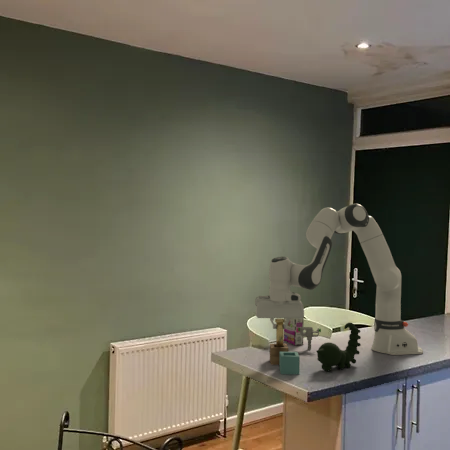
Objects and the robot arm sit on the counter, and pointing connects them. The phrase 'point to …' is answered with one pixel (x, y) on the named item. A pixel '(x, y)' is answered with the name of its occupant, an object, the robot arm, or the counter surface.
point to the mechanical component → (308, 334)
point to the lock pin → (279, 332)
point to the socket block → (289, 362)
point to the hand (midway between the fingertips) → (279, 328)
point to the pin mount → (276, 353)
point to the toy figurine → (339, 351)
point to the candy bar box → (293, 331)
